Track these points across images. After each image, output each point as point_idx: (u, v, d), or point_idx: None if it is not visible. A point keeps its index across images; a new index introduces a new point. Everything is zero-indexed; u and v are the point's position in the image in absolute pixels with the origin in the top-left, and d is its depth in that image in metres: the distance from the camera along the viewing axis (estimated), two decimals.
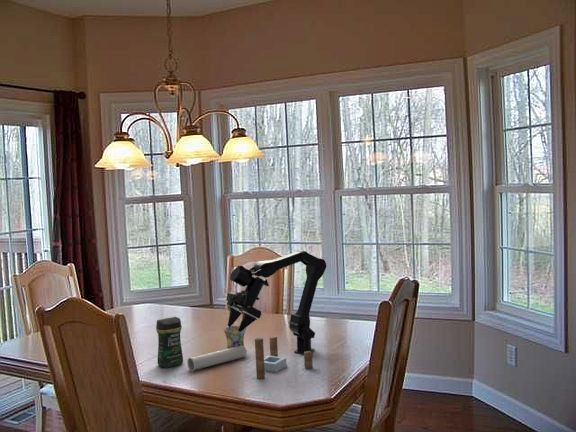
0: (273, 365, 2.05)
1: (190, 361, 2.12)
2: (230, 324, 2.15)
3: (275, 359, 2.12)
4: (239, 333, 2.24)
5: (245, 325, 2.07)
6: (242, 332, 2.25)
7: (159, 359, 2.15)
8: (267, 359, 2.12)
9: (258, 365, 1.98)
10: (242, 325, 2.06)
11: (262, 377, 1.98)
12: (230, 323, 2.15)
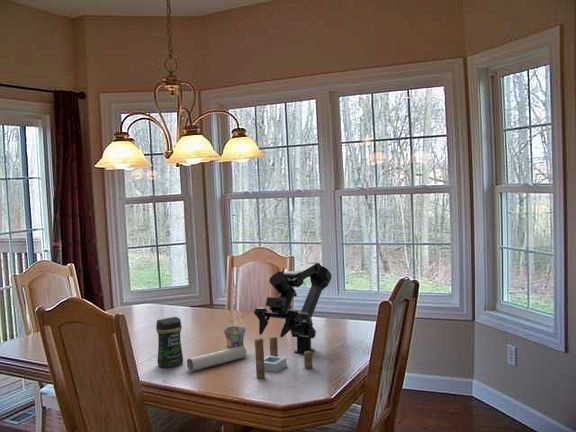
0: (273, 365, 2.05)
1: (189, 361, 2.11)
2: (261, 332, 2.08)
3: (275, 359, 2.12)
4: (239, 333, 2.24)
5: (286, 331, 2.04)
6: (242, 332, 2.24)
7: (159, 359, 2.15)
8: (267, 359, 2.12)
9: (258, 365, 1.98)
10: (285, 330, 2.04)
11: (262, 377, 1.98)
12: (261, 331, 2.08)
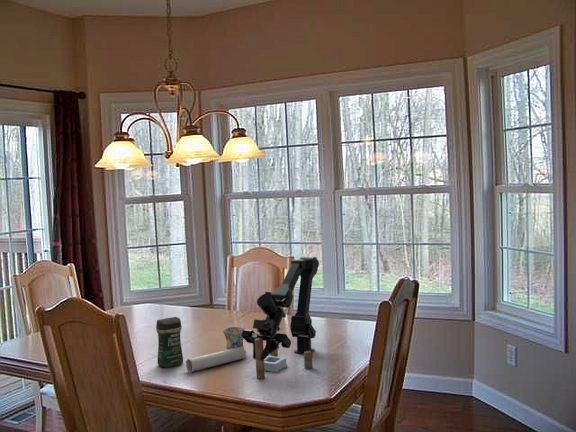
0: (273, 365, 2.05)
1: (189, 362, 2.10)
2: (255, 356, 1.99)
3: (275, 359, 2.12)
4: (238, 334, 2.23)
5: (267, 353, 1.98)
6: (241, 333, 2.24)
7: (159, 359, 2.15)
8: (267, 359, 2.12)
9: (258, 365, 1.98)
10: (265, 353, 1.98)
11: (262, 377, 1.98)
12: (255, 355, 1.99)
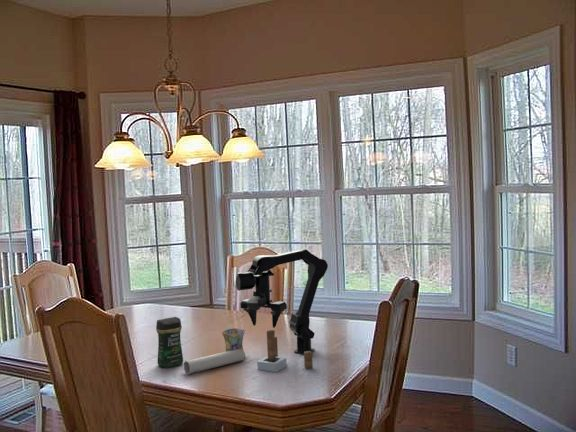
0: (273, 365, 2.05)
1: (186, 364, 2.08)
2: (255, 322, 2.22)
3: None
4: (237, 336, 2.20)
5: (276, 320, 2.18)
6: (240, 335, 2.21)
7: (159, 359, 2.15)
8: (267, 359, 2.12)
9: (270, 355, 2.08)
10: (275, 321, 2.17)
11: None
12: (254, 322, 2.22)
